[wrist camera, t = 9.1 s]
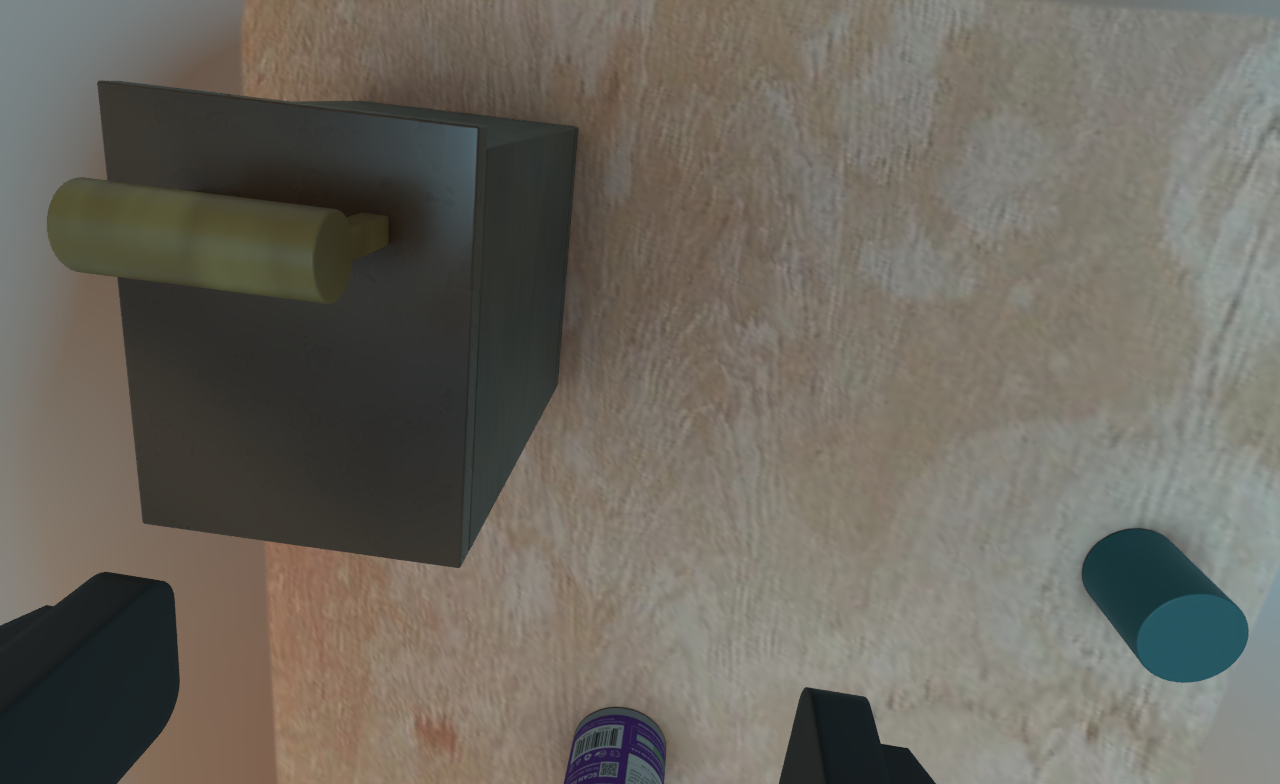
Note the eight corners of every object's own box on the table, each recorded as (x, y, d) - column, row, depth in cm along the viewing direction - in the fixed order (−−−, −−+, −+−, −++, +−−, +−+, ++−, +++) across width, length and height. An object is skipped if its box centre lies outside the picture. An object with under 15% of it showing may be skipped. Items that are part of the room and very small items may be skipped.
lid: (120, 80, 19) (-73, 75, 14) (488, 125, 19) (414, 133, 14) (160, 510, 23) (17, 616, 18) (468, 553, 23) (404, 673, 18)
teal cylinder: (1132, 511, 35) (1197, 575, 31) (1199, 563, 36) (1273, 633, 31) (1061, 574, 37) (1113, 645, 32) (1127, 624, 37) (1187, 700, 32)
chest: (358, 100, 32) (122, 103, 19) (578, 126, 32) (487, 147, 19) (360, 359, 36) (161, 509, 23) (557, 385, 36) (469, 552, 23)
